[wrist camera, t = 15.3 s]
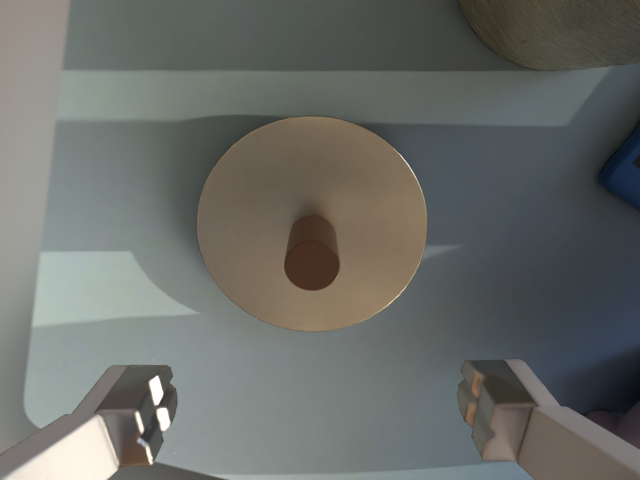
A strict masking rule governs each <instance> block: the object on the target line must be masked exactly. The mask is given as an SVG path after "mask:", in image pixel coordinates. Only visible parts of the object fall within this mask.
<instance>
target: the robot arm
mask: <svg viewBox="0 0 640 480" xmlns="http://www.w3.org/2000/svg"><path fill="white" fill-rule="evenodd" d="M461 373H462V375H463V377H464V380H463V381H461V382H460V383H459V384H458V392H457V397H458V405H459V409H460V412H461V414H462V417H463V419H464V421H465V422H466V423H468V424H469V425H470V426H471V427H473V431H472V439H473V441H474V443H475V445H476V447H477V449H478V451H479V453H480V456H481V458H482V460H483V461H517V463H518V464H519V465H520V466H521V467H522V468H523V469H524V470H525V471H526V472H527V473H528V474H529V475H530V476H532V477H533V478H534V479H535V480H640V449H638V448H636V447H635V446H633V445H631V444H629V443H628V442H626V441H624V440H623V439H621V438H619V437H618V436H616V435H614V434H613V433H611V432H609V431H607V430H606V429H604V428H602V427H601V426H599V425H597V424H596V423H594V422H592V421H591V420H589V419H587V418H585V417H584V416H582V415H580V414H579V413H577V412H575V411H574V410H572V409H570V408H569V407H561V406H560V405H559V403H558V402H557V401H556V400H555V398H554V397H553V396H552V395H551V394H550V392H549V391H548V390H547V389H546V387H545V386H544V385H543V384H542V382H541V381H540V380H539V379H538V378H537V376H536V375H535V374H534V373H533V371H532V370H531V369H530V368H529V366H528V365H527V364H526V363H525V362H524V361H523V360H521V359H501V360H466V361H464V362H463V364H462V368H461ZM172 377H173V374H172V371H171V367H170V366H167V365H113V366H111V367H109V368H108V369H107V370H106V371H105V373H104V374H103V375H102V376H101V378H100V379H99V380H98V381H97V383H96V384H95V385H94V386H93V388H92V389H91V390H90V391H89V393H88V394H87V395H86V396H85V398H84V399H83V400H82V401H81V403H80V404H79V405H78V406H77V408H76V409H75V410H74V411H73V413H72V414H65V415H63V416H62V417H60V418H59V419H57V420H55V421H54V422H52V423H50V424H49V425H47V426H46V427H44V428H42V429H41V430H39V431H38V432H36V433H34V434H33V435H31V436H29V437H28V438H26V439H24V440H23V441H21V442H19V443H18V444H16V445H15V446H13V447H11V448H10V449H8V450H6V451H5V452H3V453H2V454H0V480H107V479H108V478H110V477H111V476H112V475H113V474H114V473H115V472H116V471H117V470H118V467H131V466H152V465H153V463H154V461H155V459H156V456H157V454H158V452H159V450H160V448H161V446H162V444H163V441H164V440H163V436H162V432H163V431H165V430H166V429H167V428H168V427H170V426H171V424H172V421H173V419H174V417H175V413H176V409H177V392H176V388H175V387H173V386H172V385H171V384H170V381H171V379H172Z"/></svg>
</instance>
